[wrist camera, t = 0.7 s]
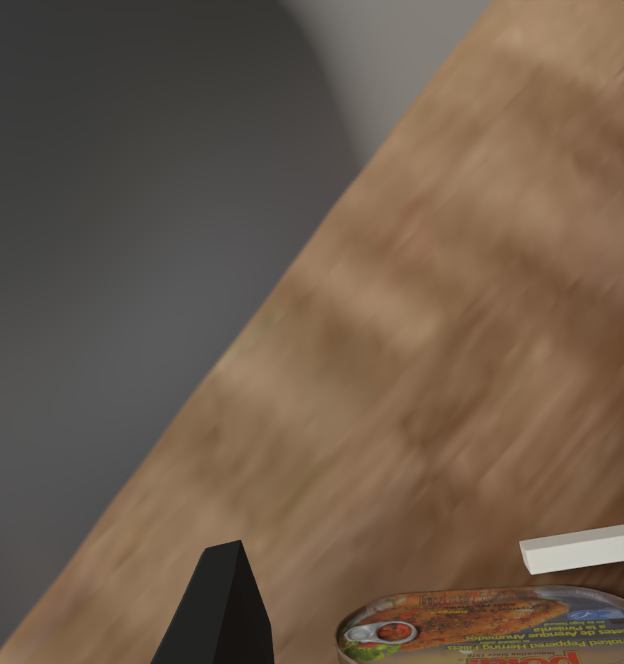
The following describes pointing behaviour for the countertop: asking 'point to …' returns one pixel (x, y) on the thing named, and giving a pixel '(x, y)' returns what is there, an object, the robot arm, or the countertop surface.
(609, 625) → the tin
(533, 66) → the countertop surface
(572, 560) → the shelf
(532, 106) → the countertop surface
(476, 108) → the countertop surface
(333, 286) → the countertop surface
